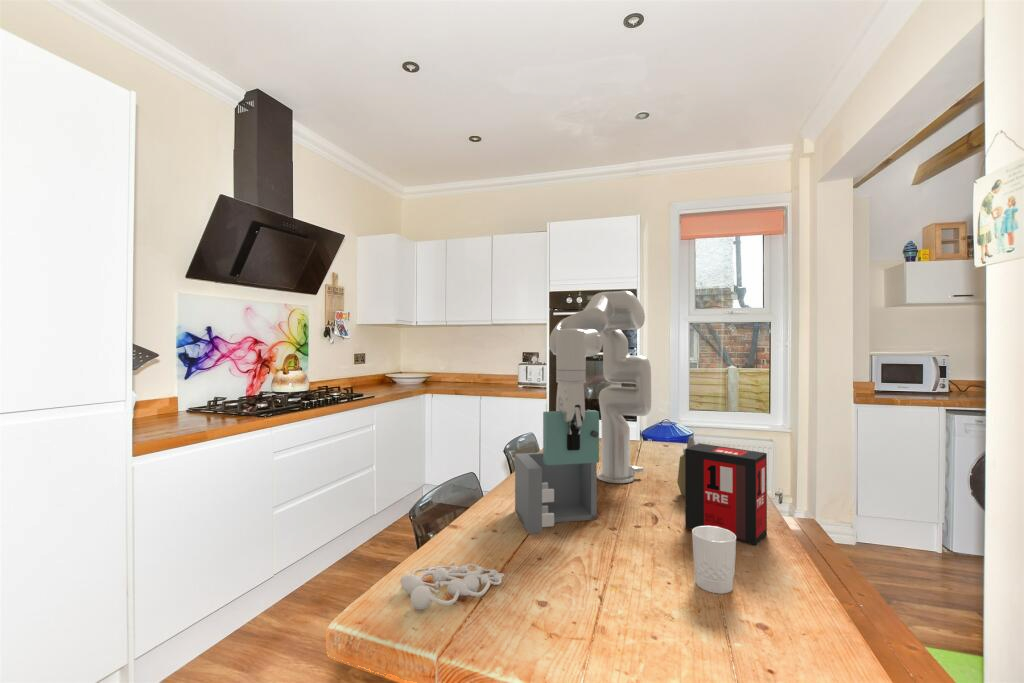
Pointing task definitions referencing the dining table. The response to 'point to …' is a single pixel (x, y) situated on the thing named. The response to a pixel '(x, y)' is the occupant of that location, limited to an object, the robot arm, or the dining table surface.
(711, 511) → the cleaning product box
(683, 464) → the squeeze bottle
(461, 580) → the tangled rod sculpture
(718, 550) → the white cup
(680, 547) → the dining table surface
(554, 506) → the cabinet
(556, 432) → the cabinet door
